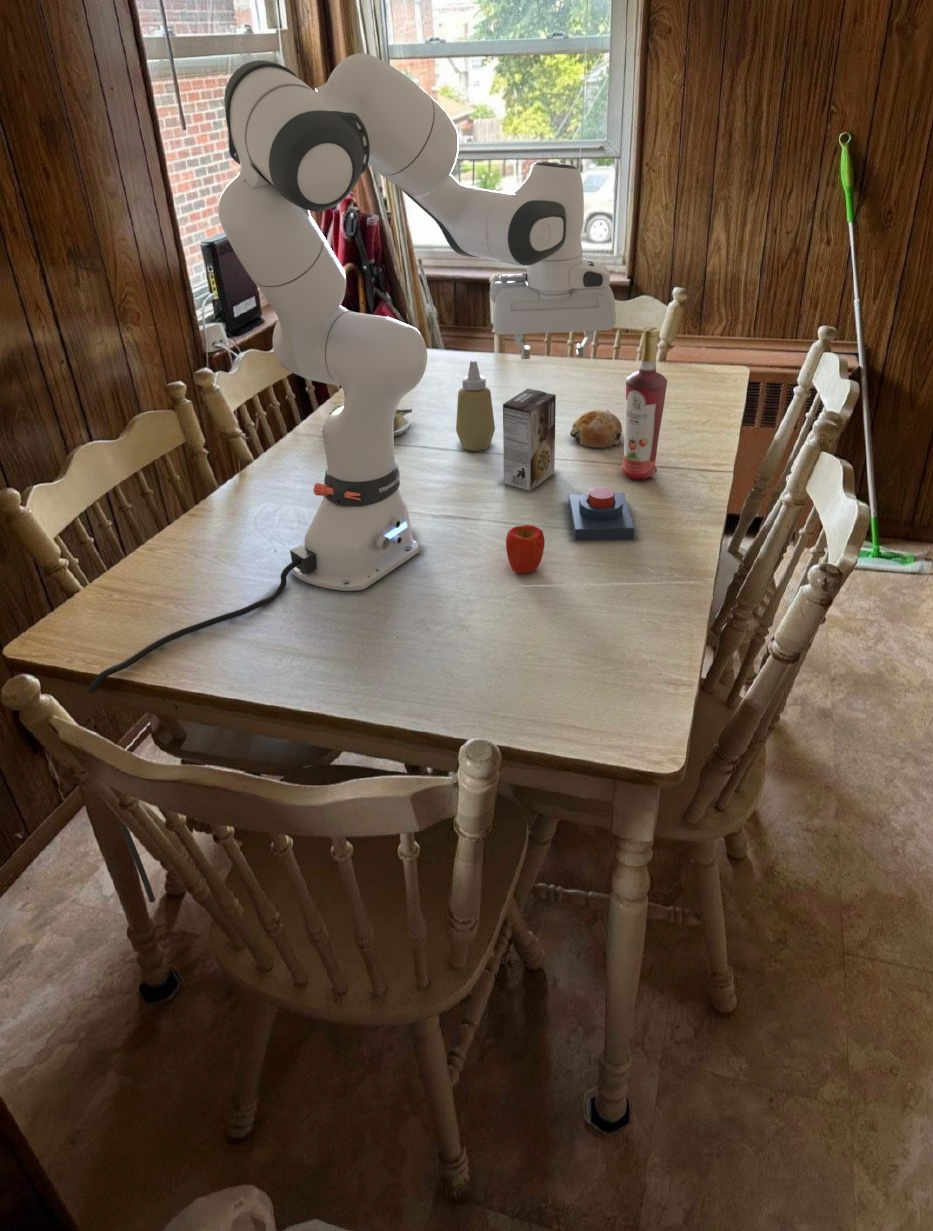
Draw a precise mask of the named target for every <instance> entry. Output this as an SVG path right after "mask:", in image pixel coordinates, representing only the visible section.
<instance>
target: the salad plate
mask: <svg viewBox="0 0 933 1231" xmlns="http://www.w3.org/2000/svg"><path fill="white" fill-rule="evenodd" d="M342 406H343V405H337V406H335V407H334V408H333V409H332V411H331V412H329V413H328V415H330V414H331V413H332V412H333V411H335V410H336V409H338V408H340V407H342ZM412 412H413V409H412V408H397V409H396V413H395V417H394V425H393V431H394V438H395V437H398V436H400V435H402V434H404V433H405V432H406V431H408V430H409V429H410V427H411V426H412V423H411V421H410V420H408V419H407V418H406V417H404V416H406V415H408V414H411V413H412Z"/></svg>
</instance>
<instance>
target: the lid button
mask: <svg viewBox="0 0 933 1231" xmlns="http://www.w3.org/2000/svg"><path fill="white" fill-rule="evenodd" d="M588 493H589V498H588V504H589V505H590V506H592V507H596V508H608V507H611V506H613V505H614V493H615V491H614V490H613V489H611V488H609V487H604V486H599V487H597V486H596V487H593V488H591V489H590V490H589V491H588Z"/></svg>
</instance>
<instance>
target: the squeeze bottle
mask: <svg viewBox="0 0 933 1231" xmlns="http://www.w3.org/2000/svg"><path fill="white" fill-rule="evenodd" d="M456 405H457V407H456V421H455V422H456V423H455V432H456V435H457V437H458V440H459V442H460V444H461V447H462V449H464V450H467V451H471V452H477V451H479V452H480V451H483V450H487V449H488V448H490V446H491V443H492V441H493V438H494V434H495V431H496V425H495V417H494V409H493V402H492V392H491V389H490V388H489V387H487V379H486V377H485V376H483V375H481V373H480V369H479V365H478V361H477V359H470V362H469V367H468V373H467V375H466V376H464V377H463V378H462V387H461V388H460V389H459V390H458V391H457V404H456Z"/></svg>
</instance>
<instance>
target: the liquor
mask: <svg viewBox="0 0 933 1231" xmlns="http://www.w3.org/2000/svg"><path fill="white" fill-rule="evenodd" d="M642 329H643V330H642V345H643V346H642V347H643V348H642V351H641V359H640V364H639V369H638V371H635V372H632V373H631V374H630V375H628V376H627V377H626V379H625V398H624V400H625V402H624V409H625V410H624V446H623V464H622V465H621V467H620V471H621V472H622V473H623V474H624V475H625V477H627V478H628V479H630V480H632V481H638V482H639V481H640V482H641V481H646V480H648V479H650V478H651V477H653V476H655V474H657V472H658V468H657V465H656V462H657V455H658V454H657V453H658V446H659V440H660V431H661V425H662V419H663V413H664V408H665V401H666V400H665V399H666V393H667V386H668V379H667V377H665V376H664V375H663V374H662V373H660V372H658V371H657V345H658V341H659V334H660V328H659V327H656V326H655V327H654V326H646V327H644V328H642Z"/></svg>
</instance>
